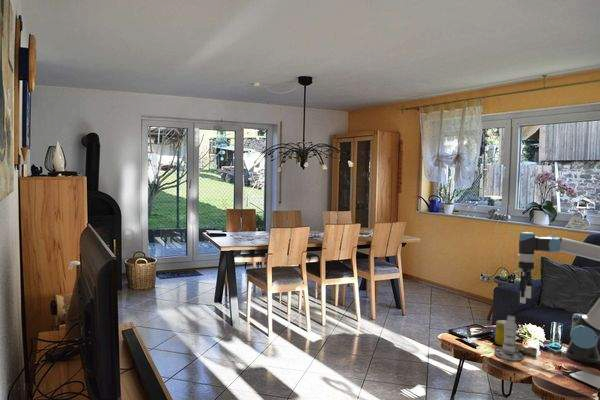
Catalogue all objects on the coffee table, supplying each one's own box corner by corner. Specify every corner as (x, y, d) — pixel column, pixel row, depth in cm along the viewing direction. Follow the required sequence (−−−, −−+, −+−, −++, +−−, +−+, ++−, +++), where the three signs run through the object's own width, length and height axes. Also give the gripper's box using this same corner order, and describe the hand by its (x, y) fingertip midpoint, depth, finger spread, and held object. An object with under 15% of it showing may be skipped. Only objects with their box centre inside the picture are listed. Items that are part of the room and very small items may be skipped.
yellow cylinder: (512, 347, 262) (513, 326, 261) (495, 344, 266) (496, 323, 265) (511, 341, 270) (512, 321, 270) (494, 339, 274) (496, 319, 273)
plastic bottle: (514, 357, 245) (517, 319, 243) (501, 353, 248) (503, 316, 247) (516, 353, 250) (519, 316, 249) (503, 350, 254) (505, 313, 252)
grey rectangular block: (536, 355, 251) (537, 347, 250) (534, 357, 247) (534, 349, 247) (516, 350, 257) (517, 342, 257) (514, 352, 254) (514, 344, 253)
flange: (526, 355, 250) (526, 352, 250) (518, 363, 239) (519, 359, 239) (499, 348, 259) (499, 345, 259) (490, 355, 248) (491, 352, 248)
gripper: (523, 257, 263) (522, 294, 264) (513, 263, 243) (512, 304, 244) (538, 258, 258) (537, 296, 259) (529, 265, 238) (528, 306, 239)
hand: (525, 300), depth 251 cm, fingers open, 13 cm apart
